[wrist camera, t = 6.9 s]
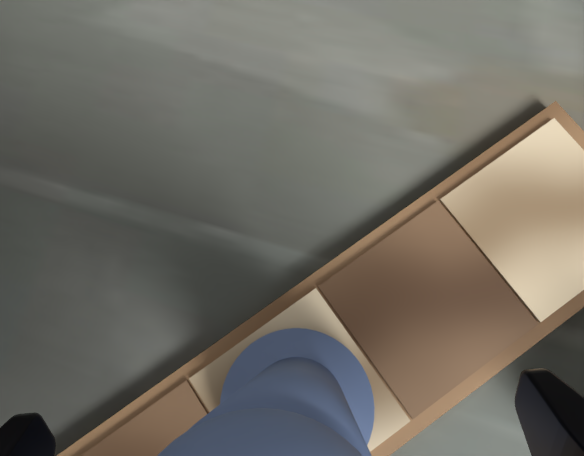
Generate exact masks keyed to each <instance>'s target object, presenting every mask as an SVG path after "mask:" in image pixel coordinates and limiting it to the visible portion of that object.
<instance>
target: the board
mask: <svg viewBox="0 0 584 456" xmlns="http://www.w3.org/2000/svg"><path fill="white" fill-rule="evenodd" d="M583 307H584V131H583V130H582V129H581V128H580V127H579V126H578V125H577V123H576V122H575V121H574V120H573V119H572V118H571V117H570V116H569V115H568V114H567V113H566V112H565V111H564V109H563V108H562V107H561V106H560V105H559V104H558V103H557V102H556V101H555V102H554V103H552V104H551V105H549V106H548V107H547V108H545V109H544V110H542V111H541V112H540V113H538V114H537V115H535V116H534V117H533V118H531V119H530V120H528V121H527V122H525V123H524V124H523V125H521V126H520V127H518V128H517V129H516V130H514V131H513V132H511V133H510V134H509V135H507V136H506V137H504V138H503V139H502V140H500V141H499V142H497V143H496V144H495V145H493V146H492V147H490V148H489V149H487V150H486V151H485V152H483V153H482V154H480V155H479V156H478V157H476V158H475V159H473V160H472V161H471V162H469V163H468V164H466V165H465V166H464V167H462V168H461V169H459V170H458V171H457V172H455V173H454V174H452V175H451V176H449V177H448V178H447V179H445V180H444V181H442V182H441V183H440V184H438V185H437V186H435V187H434V188H433V189H431V190H430V191H428V192H427V193H426V194H424V195H423V196H421V197H420V198H419V199H417V200H416V201H414V202H413V203H411V204H410V205H409V206H407V207H406V208H404V209H403V210H402V211H400V212H399V213H397V214H396V215H395V216H393V217H392V218H390V219H389V220H388V221H386V222H385V223H383V224H382V225H380V226H379V227H378V228H376V229H375V230H373V231H372V232H371V233H369V234H368V235H366V236H365V237H364V238H362V239H361V240H359V241H358V242H357V243H355V244H354V245H352V246H351V247H350V248H348V249H347V250H345V251H344V252H342V253H341V254H340V255H338V256H337V257H335V258H334V259H333V260H331V261H330V262H328V263H327V264H326V265H324V266H323V267H321V268H320V269H319V270H317V271H316V272H314V273H313V274H312V275H310V276H309V277H307V278H306V279H304V280H303V281H302V282H300V283H299V284H297V285H296V286H295V287H293V288H292V289H290V290H289V291H288V292H286V293H285V294H283V295H282V296H281V297H279V298H278V299H276V300H275V301H274V302H272V303H271V304H269V305H268V306H266V307H265V308H264V309H262V310H261V311H259V312H258V313H257V314H255V315H254V316H252V317H251V318H250V319H248V320H247V321H245V322H244V323H243V324H241V325H240V326H238V327H237V328H235V329H234V330H233V331H231V332H230V333H228V334H227V335H226V336H224V337H223V338H221V339H220V340H219V341H217V342H216V343H214V344H213V345H212V346H210V347H209V348H207V349H206V350H205V351H203V352H202V353H200V354H199V355H197V356H196V357H195V358H193V359H192V360H190V361H189V362H188V363H186V364H185V365H183V366H182V367H181V368H179V369H178V370H176V371H175V372H174V373H172V374H171V375H169V376H168V377H167V378H165V379H164V380H162V381H161V382H159V383H158V384H157V385H155V386H154V387H152V388H151V389H150V390H148V391H147V392H145V393H144V394H143V395H141V396H140V397H138V398H137V399H136V400H134V401H133V402H131V403H130V404H129V405H127V406H126V407H124V408H123V409H121V410H120V411H119V412H117V413H116V414H114V415H113V416H112V417H110V418H109V419H107V420H106V421H105V422H103V423H102V424H100V425H99V426H98V427H96V428H95V429H93V430H92V431H90V432H89V433H88V434H86V435H85V436H83V437H82V438H81V439H79V440H78V441H76V442H75V443H74V444H72V445H71V446H69V447H68V448H67V449H65V450H64V451H62V452H61V453H60V454H58V455H57V456H158V454H159V453H160V452H161V451H163V450H164V449H165V448H166V447H167V446H168V445H169V444H170V443H171V442H173V441H174V440H175V439H176V438H178V437H179V436H181V435H182V434H184V433H185V432H186V431H188V430H189V429H190V428H191V427H192V426H193V425H194V424H195V423H197V422H198V421H199V420H200V419H202V418H203V417H204V416H206V415H207V414H208V413H209V412H211V411H212V410H213V409H215V408H216V407H217V406H218V405H220V399H221V393H222V388H223V384H224V382H225V379H226V376H227V374H228V372H229V370H230V368H231V366H232V365H233V363H234V362H235V360H236V359H237V357H238V356H239V355H240V354H241V353H242V352H243V350H245V349H246V348H247V347H248V346H249V345H250V344H251V343H253V342H254V341H256V340H257V339H259V338H261V337H263V336H265V335H267V334H269V333H272V332H275V331H278V330H283V329H290V328H303V329H310V330H315V331H318V332H321V333H324V334H326V335H328V336H330V337H332V338H334V339H336V340H337V341H339V342H340V343H342V344H343V345H344V346H345V347H346V348H348V349H349V350H350V351H351V352H352V353H353V355H354V356H355V357H356V358H357V359H358V361H359V362H360V364H361V365H362V367H363V369H364V371H365V373H366V375H367V377H368V379H369V382H370V385H371V388H372V393H373V397H374V407H375V409H374V423H373V430H372V433H371V437H370V440H369V442H368V445H367V447H368V449H369V451H370V453H371V455H372V456H389V455H391V454H392V453H393V452H395V451H396V450H397V449H399V448H400V447H401V446H403V445H404V444H405V443H406V442H408V441H409V440H410V439H412V438H413V437H414V436H416V435H417V434H418V433H420V432H421V431H422V430H423V429H425V428H426V427H427V426H429V425H430V424H431V423H433V422H434V421H435V420H437V419H438V418H439V417H440V416H442V415H443V414H444V413H446V412H447V411H448V410H450V409H451V408H452V407H454V406H455V405H456V404H458V403H459V402H460V401H461V400H463V399H464V398H465V397H467V396H468V395H469V394H471V393H472V392H473V391H475V390H476V389H477V388H478V387H480V386H481V385H482V384H484V383H485V382H486V381H488V380H489V379H490V378H492V377H493V376H494V375H496V374H497V373H498V372H499V371H501V370H502V369H503V368H505V367H506V366H507V365H509V364H510V363H511V362H513V361H514V360H515V359H516V358H518V357H519V356H520V355H522V354H523V353H524V352H526V351H527V350H528V349H530V348H531V347H532V346H534V345H535V344H536V343H537V342H539V341H540V340H541V339H543V338H544V337H545V336H547V335H548V334H549V333H551V332H552V331H553V330H554V329H556V328H557V327H558V326H560V325H561V324H562V323H564V322H565V321H566V320H568V319H569V318H570V317H572V316H573V315H574V314H575V313H577V312H578V311H579V310H581V309H582V308H583Z"/></svg>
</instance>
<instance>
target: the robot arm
mask: <svg viewBox="0 0 584 456" xmlns="http://www.w3.org/2000/svg"><path fill="white" fill-rule="evenodd" d="M515 407H516V411H517V415H518V417H519V420H520V423H521V426H522V429H523V432H524V435H525V438H526V441H527V444H528V447H529V450H530V452H531V455H532V456H584V397H583V396H582V395H581V394H579V393H578V392H577V391H575V390H574V389H573V388H571V387H570V386H569V385H568V384H566V383H565V382H564V381H562V380H561V379H560V378H559V377H557V376H556V375H555V374H553V373H552V372H551V371H549V370H547V369H543V368H540V369H528V370H524V371H523V372H522V373H521V375H520V379H519V383H518V387H517V391H516V396H515ZM55 447H56V444H55V438H54V436H53V434H52V433H51V431H50V429H49V428H48V426H47V424H46V423H45V421H44V420H43V418H42V416H41V415H40V414H38V413H25V414H18V415H15V416H13V417H12V418H10V419H9V420H8V421H7V422H6V423H5V424H4V425H3V426H2V427H1V428H0V456H54V454H55Z"/></svg>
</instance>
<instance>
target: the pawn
mask: <svg viewBox="0 0 584 456" xmlns="http://www.w3.org/2000/svg"><path fill="white" fill-rule="evenodd" d="M374 409H375V407H374V397H373V393H372V388H371V385H370V382H369V379H368V377H367V375H366V373H365V371H364V369H363V367H362V365H361V364H360V362H359V361H358V359H357V358H356V357H355V356H354V355H353V353H352V352H351V351H350V350H349V349H348V348H346V347H345V346H344V345H343V344H342V343H340V342H339V341H337V340H336V339H334V338H332V337H330V336H328V335H326V334H324V333H321V332H318V331H315V330H310V329H303V328H290V329H283V330H278V331H275V332H272V333H269V334H267V335H265V336H263V337H261V338H259V339H257V340H256V341H254V342H253V343H251V344H250V345H249V346H248V347H247V348H246V349H245V350H243V352H242V353H241V354H240V355H239V356H238V357H237V359H236V360H235V362H234V363H233V365H232V366H231V368H230V370H229V372H228V374H227V376H226V379H225V382H224V384H223V388H222V393H221V399H220V405H218V406H217V407H216V408H215V409H213V410H212V411H211V412H209V413H208V414H207V415H206V416H204V417H203V418H202V419H200V420H199V421H198V422H197V423H195V424H194V425H193V426H192V427H191V428H190V429H189V430H188V431H186V432H185V433H184V434H182V435H181V436H179V437H178V438H176V439H175V440H174V441H173V442H171V443H170V444H169V445H168V446H167V447H166V448H165V449H164V450H163V451H161V452H160V453H159V454H158V456H372V455H371V453H370V451H369V449H368V447H367V445H368V442H369V440H370V437H371V433H372V430H373V423H374Z"/></svg>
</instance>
